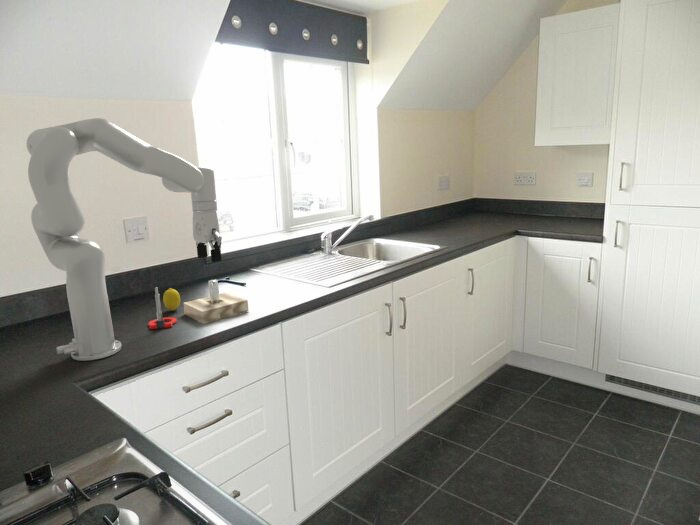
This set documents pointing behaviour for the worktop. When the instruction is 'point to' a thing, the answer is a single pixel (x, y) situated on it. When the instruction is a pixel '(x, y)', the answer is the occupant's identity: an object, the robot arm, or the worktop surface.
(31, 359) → the worktop surface
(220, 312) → the hole block
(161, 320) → the red grey post stand
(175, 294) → the lemon
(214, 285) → the peg
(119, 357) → the worktop surface
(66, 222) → the robot arm
